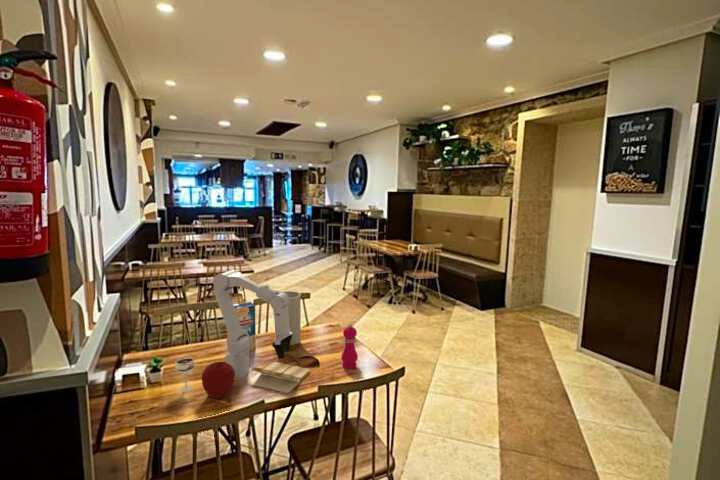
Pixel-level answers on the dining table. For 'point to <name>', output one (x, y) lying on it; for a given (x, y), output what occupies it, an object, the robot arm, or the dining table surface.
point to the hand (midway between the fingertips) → (284, 354)
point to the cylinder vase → (294, 316)
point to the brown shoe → (303, 357)
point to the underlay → (273, 382)
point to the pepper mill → (349, 348)
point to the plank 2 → (286, 376)
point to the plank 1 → (263, 371)
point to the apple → (218, 379)
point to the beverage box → (247, 320)
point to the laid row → (288, 369)
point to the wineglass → (185, 370)
